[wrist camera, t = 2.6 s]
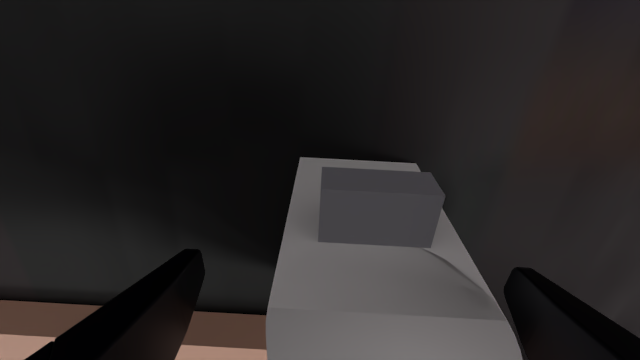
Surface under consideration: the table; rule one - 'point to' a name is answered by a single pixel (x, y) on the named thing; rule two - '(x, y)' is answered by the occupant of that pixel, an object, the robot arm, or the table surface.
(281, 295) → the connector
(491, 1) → the table surface
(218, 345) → the terracotta tile
